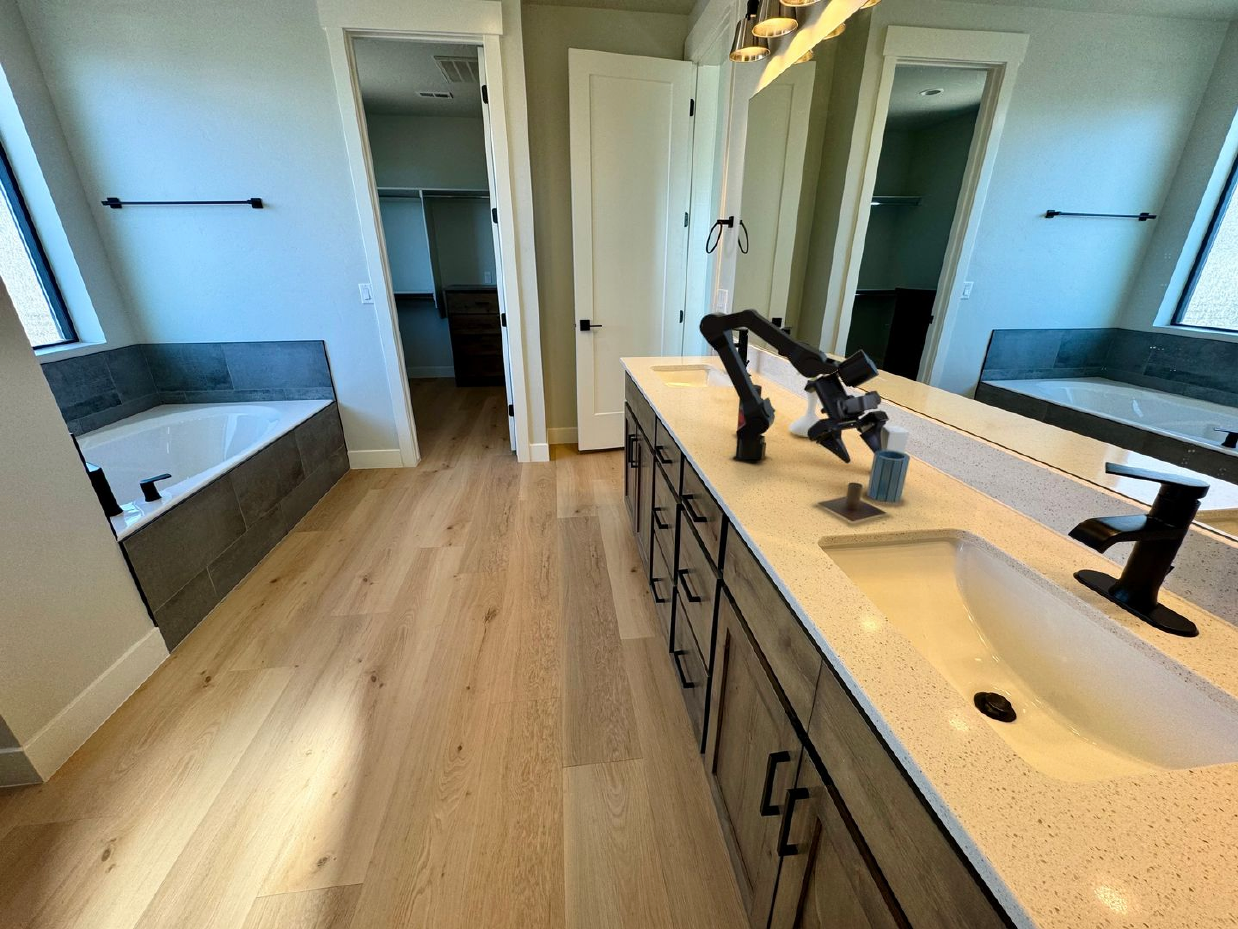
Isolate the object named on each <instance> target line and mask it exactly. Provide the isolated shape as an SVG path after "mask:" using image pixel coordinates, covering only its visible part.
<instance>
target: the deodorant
mask: <svg viewBox="0 0 1238 929" xmlns="http://www.w3.org/2000/svg"><path fill="white" fill-rule="evenodd" d="M753 385H754V387H755V389H756V391H757V393H758V395H759V396H760V397H761V398H762V389H763V386H762V385H759V384H753ZM738 398H739V397H738ZM738 402H739V403H738V414H737V424H736V425H737V426H736V431H737V430H738V429H739V428H740V427H741V426H742V425H743V424H744V423H745V420H744V417H743V409H742V402H741V400H740V398H739V399H738Z"/></svg>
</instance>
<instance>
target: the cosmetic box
mask: <svg viewBox="0 0 1238 929" xmlns="http://www.w3.org/2000/svg"><path fill="white" fill-rule="evenodd" d="M909 436H910V432H909V431H907V430H906V429H905V428H903V427H902V426H901V425H892V424H891V425H890V424H885V425H884V426H883V427H882V429H881V445H882V450H890V451H891V450H893V451H899V452H902V453H905V454H906V450H907V446H908V441H909Z"/></svg>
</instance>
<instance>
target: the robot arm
mask: <svg viewBox="0 0 1238 929" xmlns="http://www.w3.org/2000/svg"><path fill="white" fill-rule="evenodd" d="M698 328H699V332H700V333H701V335H702V337H703V338H704V339H705V341H706V342H707V343H708V344H709V346H711V347H712V348H713V349H714V351H715V352H716V353H717V354H718V357H719V358H720V361H721V363H722V365H723V367H724V368H725V371H726V373H727V375H728V377H729V379H730V382H731V384H732V385H733V388H734V390H735V391H736V394H737V396H738V398H740V400H741V402H742V409H743V417H744V420H745V423H744V424H743V425H742V426H741V427H740V428H739V429H738V430H737V429H736V431H735V433H736V446H735V455H734V456H733V457H732V459H733V460H736V461H741V462H744V463H750V464H754V465H756V464H757V465H758V464H759V463H760V462H761V461H763V460H764V459H766V450H767V442H766V436H765V435H763V434H765V433H766V432H767V431H768V430H769V429H770V428H771V426H772V425H773V424H774V423H775V420H776V415H775V412H777V410H776V409H775V408H774V407H773V405H772V402H771V400H770V397H766V398H763V397H762V396H761V397H760V396H759V395H758V393H757V391H756V389H755V387H754V385H755V384H754V383H753V381H752V379H751V377H750V376H751V375H749V372H748V370H747V368H746V365H745V364H744V362H743V360H742V357H741V355H740V354H739V351H738V350H737V347H736V345H735V342H734V332H733V330H736V329H740V328H746V329H747V330H749V331H750V332H751V333H753V334H754V335H756V336H757V337H759V338H760V339H761V340H762V341H764V342H766V343H767V344H768V345H770V346H771V347H772V348H774V349H775V350H777V352H780V354H782V355H783V356H784V357H785V358H786V359H787V360H788V361H789V363H790V364H791V366H792V367H793V368H794V369H795V370H796V371H797V372H799V373H800V374H799V375H800V376H802V377H804V378H807V382H806V384H805V386H804V388H803V390H804V391H805V393H807V392H808V393H813V392H814V391H815V392H816V394H817V396H818V400H819V402H820V404H821V406H822V408H820V410H819V411H820V413H821V415H825V414H826V417H825V418H819V419H820V420H819V421H817V422H816V423H815V424H814V425H813V426H811V427H810V428H809V429H808V433H807V435H808V437H807V438H808V439H809V441H810V442H815V444H816V445H820V446H821V447H823V448H825V449H826V450H828V451H829V452H830V453H832V454H833V455H835V457H837V458H839V459H840V460H841V461H842V462H844V463H845V464H849V463H851V462H852V460H851V457H850V454H849V452H848V450H847V447H846V444H845V443H844V440H843V438H842V434H843V431H847V430H853V429H856V431H857V432H858V433H860V434H859V435H858V436H859V437H860V438H861V440H862V442H864V443H865V444H866V446H867V447H868V448H869V449H870V450H871V452H872V454H874V453H875V451H878V450H882V445H881V429H882V427H883V426H884V425H887V422H888V421H890V418H889V416H888V413H886V411H884V410H877V409H879V407H878V405H879V406H880V405H881V404H882V397H881V395H880V393H879V392H878V391H877V390H870V391H867V392H865V393H864V395H859V396H855V395H853V394H849V395H848V393H847V391H846V388H851V387H852V388H853V389H856V388H858V387H860V386H861V385H863V384H865V383H868V382H869V381H871V380H873V379H874V378H876V377H878V376H880V373H879V370H878V369H877V367H876V365H875V363H874V362H873V360H872V359H870V358H869V356H868V355H867V354H866V353H865V351H864V350H863V349H859V350H858V351H856V352H855V353H853V354H852V355H851V356H848V357H847V358H845V359H844V360H842V361H840V360H837V359H834V358H831V357H828V356H827V354H826V353H825V352H824V351H823V350H820V349H818V348H816V347H813V346H812V345H809V344H807V343H804V342H802V341H799V340H797V339H795V338H794V337H793V336H792V335H790V334H788V333H787V332H785V331H784V330H782V329H781V328H780V327H779V326H777V325H775V324H774V323H773V322H771V321H770V320H769V319H767V318H765V317H764V316H763V315H761V314H760V313H759V312H758V311H757V310H756V309H755V308H748V309H747V308H746V309H744V310H742V311H738V312H734V313H733V312H732V313H728V314H726V313H724V312H721V311H720V312H719V311H717V312H713V313H707V314H706V315H704V316H703V317H702V318H701V319H700V322H699V325H698ZM820 375H821V376H820ZM815 377H817V379H816V380H814V381H810V379H811V378H815ZM841 381H842V382H841ZM843 384H844V385H843ZM844 386H845V387H846V388H845V387H844ZM871 410H873V411H871ZM874 410H875V411H874ZM866 411H869V412H868V413H865V412H866ZM859 417H861V418H859Z"/></svg>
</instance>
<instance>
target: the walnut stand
mask: <svg viewBox="0 0 1238 929" xmlns="http://www.w3.org/2000/svg"><path fill="white" fill-rule="evenodd" d="M862 492H863V484H861V483H859V482H849V483H848V484H847V489H846V495H845V496H842V497H837V498H833V499H829V500H825V501H820V502H817V504H818V505H820V506H822V507H824V508H826V509H828V510H830V511H832V512H834V514H837V515H839V516H841V517H843V518H845V519H847V520H848V521H850V522H852V523H853V522H857V521H861V520H865V519H869V518H873V517H877V516H880V515H885V514H887V512H886V511H884V510H882V509H880V508H878V507H876V506H873V505H872V504H869V503H867V502H866V501H863V500H861V498H862Z"/></svg>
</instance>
